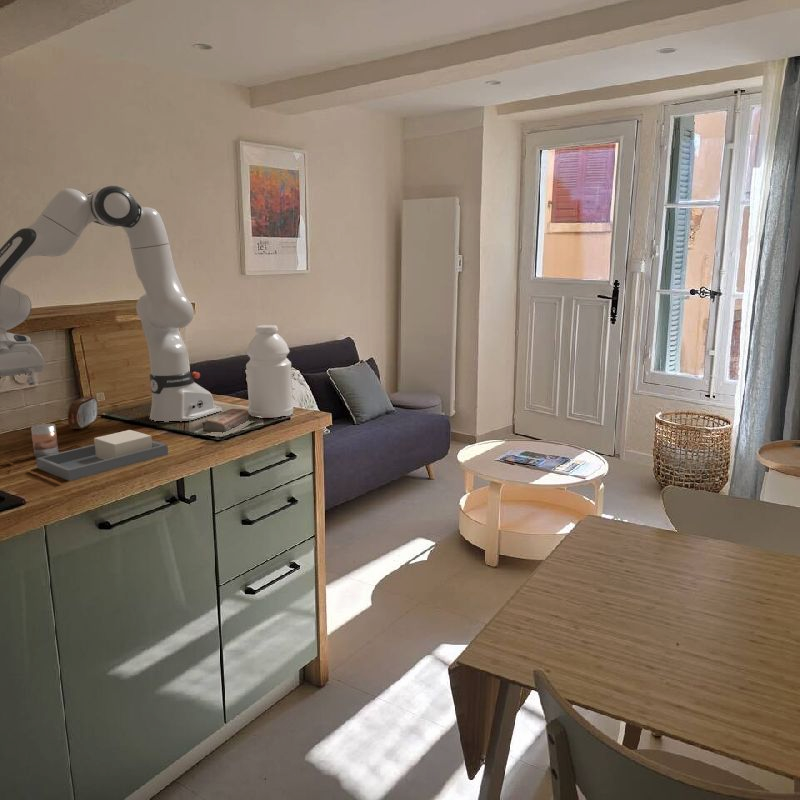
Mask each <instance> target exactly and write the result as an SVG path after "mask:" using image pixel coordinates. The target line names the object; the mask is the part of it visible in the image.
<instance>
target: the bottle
mask: <svg viewBox="0 0 800 800" xmlns="http://www.w3.org/2000/svg"><path fill="white" fill-rule="evenodd" d="M277 332H279V328H278V325H275V324H262V325H260V324H259V325H257V326H256V327H255V333H257V334H255V336H254V337H253V338H252V339H251V340H250V342H249V344H248V346H247V350H246V352H245V353H246V355H247V356H248V358H249V360H248V361H247V363H246V365H245V369H246V381H247V382H246V383H247V395H248V413H249V414H248V415H250V414H251V415H254V416H261V417H280V416H286V417H289V416H291V415H292V414H294V401H293V380H292V379H293V378H292V360H291V361H290V360H289V358H287V356H288V355H289V354H290V351H291V350H290V349H289V346H288V344H287V342H286V340H285V339H284V338H283V337H282V335H280V334H278V333H277Z"/></svg>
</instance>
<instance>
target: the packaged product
mask: <svg viewBox="0 0 800 800" xmlns="http://www.w3.org/2000/svg"><path fill="white" fill-rule="evenodd" d="M249 419H250V414H249V410H246V409H245V408H230V409H227V410H225V411H222V412H219V413H217V414H216V415H213V416H212V417H209V418H207V419H205V420H203V421H202V428H199V429H197V430H195V431H194V434H195V433H197V434H207V433H211V432H222V433H223V432H226V431H229V430H231V429H232V428H235V427H237V426H239V425H240V424H243V423H245V422H246V421H248V420H249Z"/></svg>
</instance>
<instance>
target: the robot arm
mask: <svg viewBox="0 0 800 800" xmlns="http://www.w3.org/2000/svg"><path fill="white" fill-rule="evenodd" d="M91 223H95V224H99V225H100V226H106V227H111V228H112V227H114V228H115V227H121V228H122V229H123V230H124V231H125V234H126V236H127V237H128V241H129V246H130V251H131V255H132V260H133V264H134V268H135V274H136V276H137V277H138V279H139V281H140V282H141V284H142V287H143V289H144V291H145V294H142V295H141V296H140V297H139V298H138V300H137V302H136V305H135V309H136V310H135V311H136V313H137V315H138V318H139V319H140V323H141V326H142V330H143V334H144V336H145V340H146V343H147V349H148V356H149V366H150V374H149V384H150V390H151V409H150V415H149V420H150V419H151V420H150V421H152V420H154V421H153V422H156V421H164V422H163V423H170V422H169V421H180V422H182V421H188V420H193V419H197V418H200V417H203V416H206V417H208V416H207V415H209V414H213V413H216V412H219V411H222V412H223V409H222V407H221V406H219V405H216V404H215V400H214V396H213V395H212V393H211V392H210V391H209V390H207V389H205V388H204V387H202V386H201V385H199V384H198V383H196V382H195V380H194V379H196V380H197V379H200V377H201V374H200V372H197V371H193V372H192V371H189V364H188V354H187V346H186V344H185V341H184V340H183V338H182V335H181V331H180V329H183V328H186V327H188V325H190V323H191V322H192V320H193V319H194V315H195V314H194V313H195V311H194V310H195V309H194V306H193V304H192V302H190V300H189V298H188V297H187V295H186V293H185V291H184V290H185V289H184V288H183V285H182V283H181V281H180V278H179V275H178V274H177V270H176V267H175V263H174V259H173V253H172V250H171V246H170V245H171V244H170V240H169V236H168V233H167V229H166V226H165V224H164V222H163V218H162V216H161V214H160V213H159V211H157V209H155V208H153V207H148V206H141V205H140V204H139V203H138V202H137V201H136V200H135V198H134V197H133V195H131V193H130V192H129V191H127V190H126V189H124V188H123V187H120V186H117V185H104V186H102V187H99V188H98V189H96V190H94V191H93V192H90V193H88V194H84V193H83V192H81V191H80V190H78V189H75V188H70V187H68V188H67V187H66V188H63V189H61V190H60V191H59V192H58V193H57V194H55V196H54V197H53V198H51V200H50V201H49V202H48V203H47V205H46V206H45V208H44V209H43V210H42V212H41V213H40V214H39V215H38V217H37V219H35V221H34V222H33V223H31V224H30V225H29V226H27V227H26V228H24V227H23V228H21V229H19V230H17V231H16V232H15V233H14V234H12V236H11V237H9V238H8V240H7V241H5V243H4V244H3V245H2V246H1V247H0V378H5V377H11V376H17V375H18V376H19V375H25V374H26V375H27V376H28V377H27V378H26V383H27V385H28V386H35V384H36V379H35V377H34V376H35V374H36V373H39V372H40V373H41V372H42V371H43V369H44V368H45V366H46V360H45V358H44V357H43V355H42V353H41V351H40V350H39V349H38V347H37V346H36V345H34V344H32V343H31V338H30V337H29V335H23V334H18V333H12V332H8V331H10V330H12V329H14V328H16V327H18V326H20V325H21V324H23V323H24V322H25V321H27V319H28V318H30V315H31V312H32V302H31V299H30V297H29V296H28V295H27V294H25V293H23V292H21V291H19V290H17V289H15V288H14V287H11V286H9V285H7V284H5V282H6V281H7V279H8V278H9V277H10V276H11V275H12V274H13V273H14V272H15V270H16V269H17V268H18V267H19V266H20V264H21V263H22V262H23V261H24V260H26V259H28V258H31V257H36V256H37V257H38V256H41V257H51V258H52V257H53V258H54V257H61V256H64V255H66V254H67V253H68V252H70V251H71V250H72V248H73V247H74V246H75V244H76V243H77V241H78V240H79V238H80V236H81V235H82V234H83V232H84V230H85V228H87V227H88V225H90V224H91ZM219 413H220V412H219ZM216 414H217V413H216ZM213 415H214V414H213ZM203 418H204V417H203ZM200 419H201V418H200ZM197 420H198V419H197Z"/></svg>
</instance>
